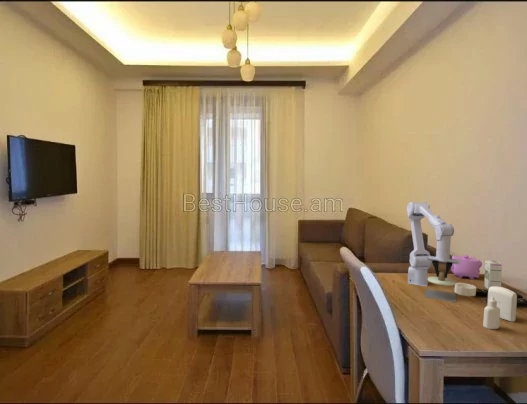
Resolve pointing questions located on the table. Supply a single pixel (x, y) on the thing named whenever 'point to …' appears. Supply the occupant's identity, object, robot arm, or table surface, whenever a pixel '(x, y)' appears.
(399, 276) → the table surface
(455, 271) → the teapot
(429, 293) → the mat
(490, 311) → the eye dropper bottle
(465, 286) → the bowl
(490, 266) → the syrup box
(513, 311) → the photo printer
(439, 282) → the lid
